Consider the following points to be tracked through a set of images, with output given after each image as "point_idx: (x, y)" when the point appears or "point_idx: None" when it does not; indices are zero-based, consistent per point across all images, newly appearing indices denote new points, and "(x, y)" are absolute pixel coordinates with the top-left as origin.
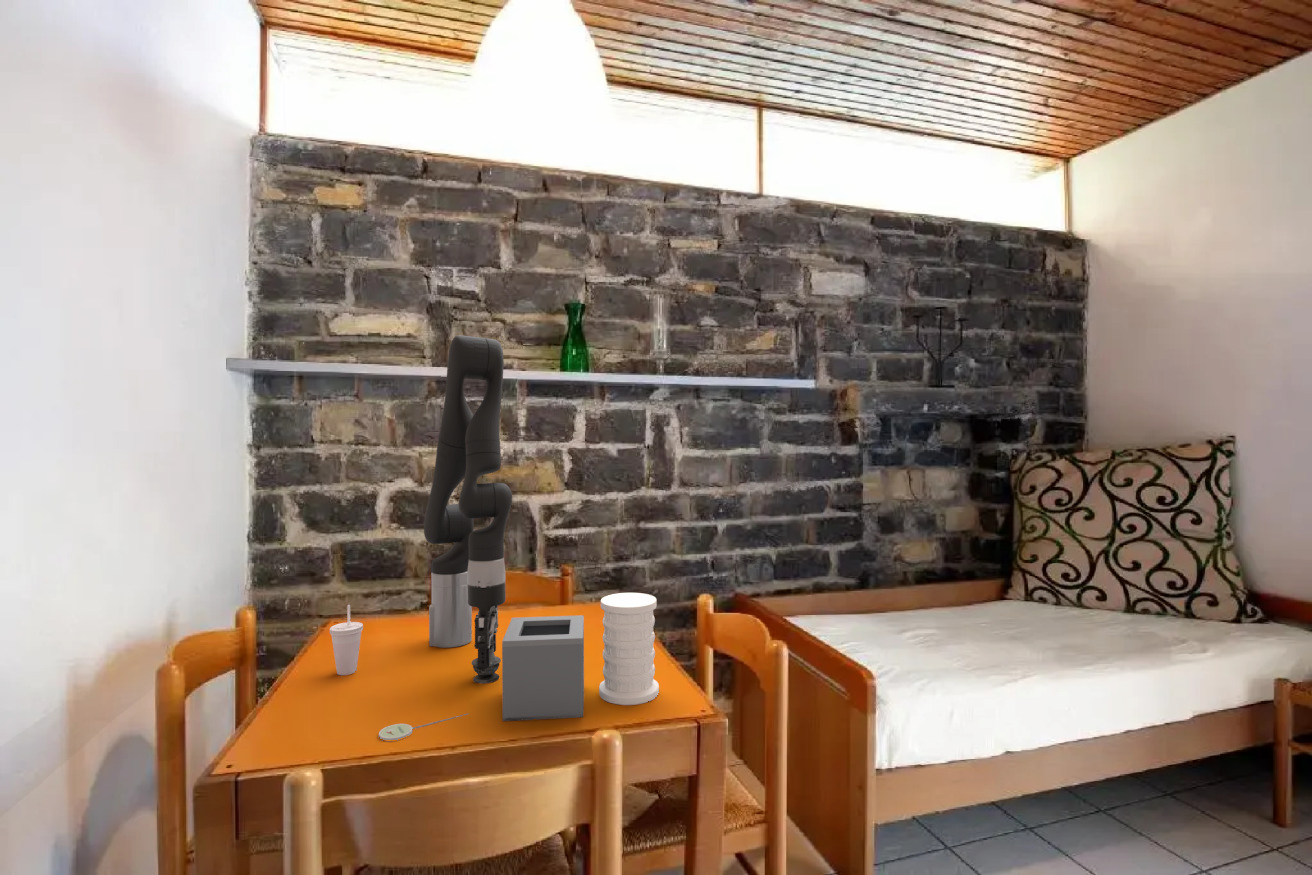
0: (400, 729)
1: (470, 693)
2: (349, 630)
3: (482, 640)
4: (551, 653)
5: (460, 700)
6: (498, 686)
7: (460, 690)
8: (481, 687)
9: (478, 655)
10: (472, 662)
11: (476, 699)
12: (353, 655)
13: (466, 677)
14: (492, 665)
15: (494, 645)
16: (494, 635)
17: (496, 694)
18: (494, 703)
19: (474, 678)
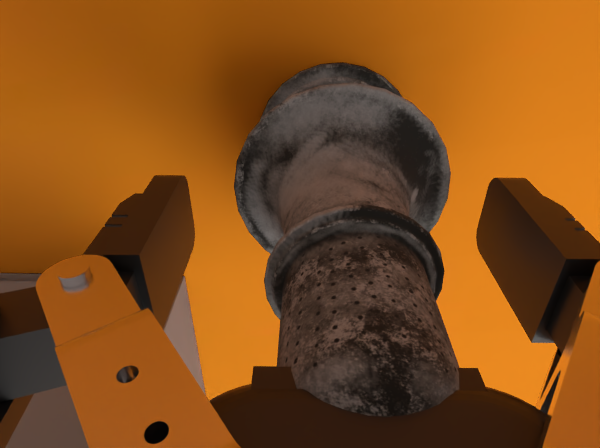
0: None
1: (111, 86)
2: None
3: (286, 292)
4: None
5: (4, 43)
6: (213, 216)
7: (151, 10)
8: (200, 135)
9: (129, 223)
10: (319, 97)
11: (38, 134)
12: None
13: (375, 8)
14: (255, 238)
15: (493, 269)
16: (534, 332)
17: None
18: (12, 222)
19: (328, 74)
